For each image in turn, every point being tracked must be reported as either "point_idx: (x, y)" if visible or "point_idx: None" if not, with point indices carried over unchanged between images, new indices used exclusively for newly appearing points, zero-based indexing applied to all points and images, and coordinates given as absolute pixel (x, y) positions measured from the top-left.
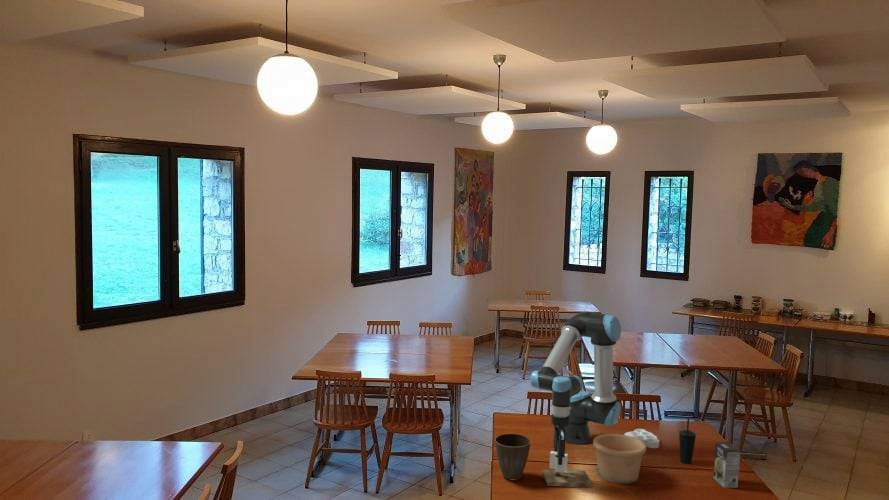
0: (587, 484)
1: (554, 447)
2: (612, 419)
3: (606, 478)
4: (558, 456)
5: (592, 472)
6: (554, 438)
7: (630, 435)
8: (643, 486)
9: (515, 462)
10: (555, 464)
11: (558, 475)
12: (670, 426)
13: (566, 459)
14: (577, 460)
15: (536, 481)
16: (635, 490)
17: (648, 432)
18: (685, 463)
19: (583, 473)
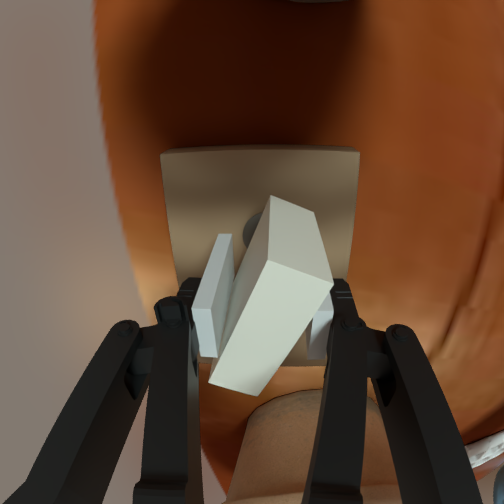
0: None
1: (383, 334)
2: (493, 495)
3: (271, 404)
4: (118, 326)
5: None
6: (417, 422)
7: (495, 444)
8: (235, 447)
9: None
10: (250, 254)
11: None
12: (494, 463)
13: (213, 358)
14: (463, 340)
15: (241, 89)
16: (205, 432)
17: (484, 461)
18: None
19: (297, 357)
